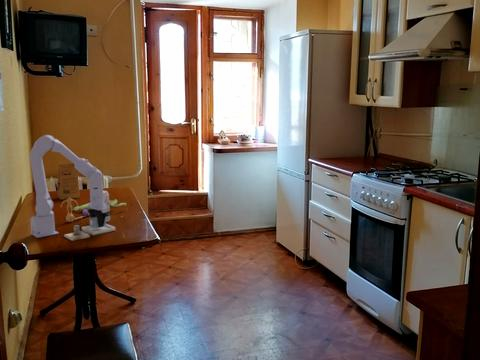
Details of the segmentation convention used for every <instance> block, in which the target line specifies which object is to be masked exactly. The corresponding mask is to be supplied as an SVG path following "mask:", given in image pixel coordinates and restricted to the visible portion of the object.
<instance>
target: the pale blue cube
mask: <svg viewBox="0 0 480 360" xmlns="http://www.w3.org/2000/svg"><path fill="white" fill-rule="evenodd" d="M88 219H89V226H90V227H92V228H95V229H97V228H101V227H99V226H98V221H97V217H92V218H91V217H89V218H88ZM106 224H107V222H106V220H105V222H104V226H103V227H105V226H106Z"/></svg>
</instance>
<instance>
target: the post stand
mask: <svg viewBox="0 0 480 360" xmlns="http://www.w3.org/2000/svg"><path fill="white" fill-rule="evenodd" d="M63 237H64V238H65V239H68V240H70V241H71V242H72V241H78V240H82V239H87V238H91V234H89V233H87V232H84V231H82V230H81V229H80V225H78V224H75V225H73V232H70V233H65V234H64V235H63Z"/></svg>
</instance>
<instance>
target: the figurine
mask: <svg viewBox="0 0 480 360" xmlns="http://www.w3.org/2000/svg"><path fill="white" fill-rule="evenodd" d="M65 202H66V203H67V204H66V209H67V214H66V216H65V220H66V221H67V222H68V223H72V222H74V220H75V215H74V214H73V206H74V205H73V204H72V203H73V202H75V203H76V205H77V206H78V207H80V206H79V204H78V202H77V200H75V199H71V198H70V197H69V198H68V199H64V200H63V201H62V203H61V205H60V208H62V206H63V204H64V203H65ZM77 206H76V207H77ZM69 210H70V211H69Z"/></svg>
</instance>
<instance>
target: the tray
mask: <svg viewBox="0 0 480 360" xmlns="http://www.w3.org/2000/svg"><path fill="white" fill-rule="evenodd" d="M81 231H83V232H85V233H87V234H89V235H90V236H97V235H102V234H105V233H110V232H114V231H115V232H116V226H114V225H111V224H108V223H106V226H105V227H101V228H97V229H95V228H92V227H90V225H85V226H81Z"/></svg>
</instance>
